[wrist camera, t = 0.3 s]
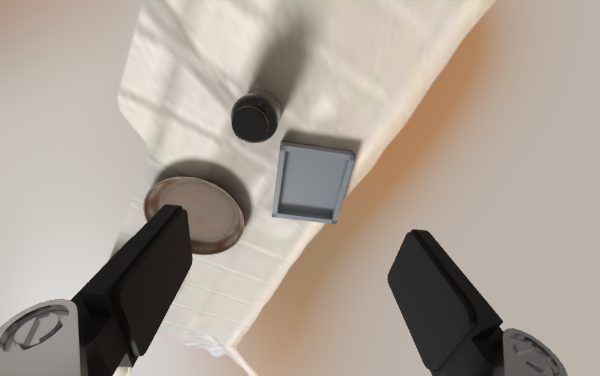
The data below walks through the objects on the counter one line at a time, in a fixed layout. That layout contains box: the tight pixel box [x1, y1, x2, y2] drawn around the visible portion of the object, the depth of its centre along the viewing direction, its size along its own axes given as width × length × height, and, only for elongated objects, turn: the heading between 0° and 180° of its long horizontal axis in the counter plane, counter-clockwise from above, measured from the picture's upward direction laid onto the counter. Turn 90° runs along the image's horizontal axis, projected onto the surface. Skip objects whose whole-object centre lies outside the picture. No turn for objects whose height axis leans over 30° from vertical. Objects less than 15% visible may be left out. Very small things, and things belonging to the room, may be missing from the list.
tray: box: [272, 141, 356, 224], centre depth 46 cm, size 16×14×2 cm
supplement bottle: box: [231, 90, 281, 143], centre depth 34 cm, size 7×7×12 cm
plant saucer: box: [143, 177, 244, 255], centre depth 49 cm, size 21×21×3 cm
